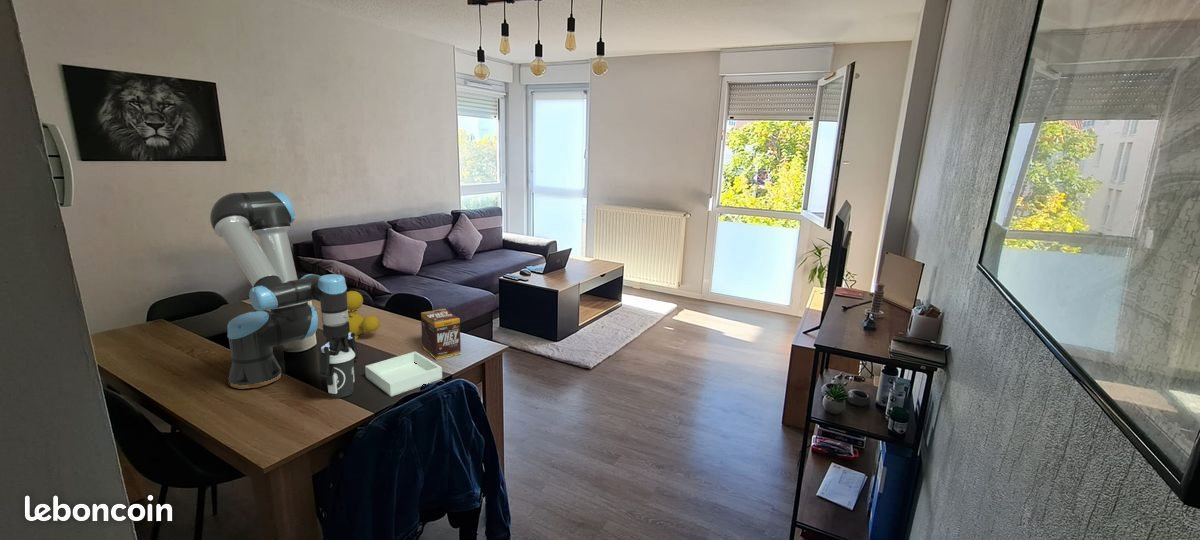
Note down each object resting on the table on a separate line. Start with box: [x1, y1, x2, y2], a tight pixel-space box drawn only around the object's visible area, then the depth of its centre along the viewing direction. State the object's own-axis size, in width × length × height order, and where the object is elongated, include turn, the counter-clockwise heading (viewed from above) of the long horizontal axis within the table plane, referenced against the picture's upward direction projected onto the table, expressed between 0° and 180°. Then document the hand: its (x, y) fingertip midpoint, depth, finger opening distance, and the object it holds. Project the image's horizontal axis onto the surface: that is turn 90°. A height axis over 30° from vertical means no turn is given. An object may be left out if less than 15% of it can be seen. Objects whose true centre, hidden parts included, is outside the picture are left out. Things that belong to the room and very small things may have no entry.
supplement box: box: [420, 308, 462, 359], centre depth 197 cm, size 10×15×16 cm
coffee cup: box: [329, 347, 355, 399], centre depth 160 cm, size 10×10×15 cm
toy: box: [347, 290, 381, 339], centre depth 207 cm, size 26×10×20 cm, turn 63°
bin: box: [364, 351, 443, 397], centre depth 175 cm, size 19×19×4 cm
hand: (341, 386), depth 162 cm, fingers closed on coffee cup, 7 cm apart
